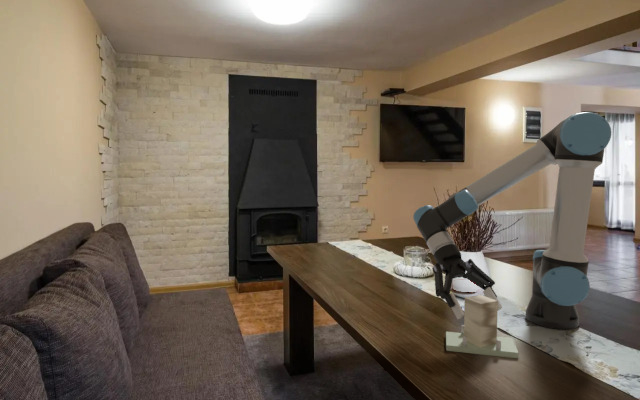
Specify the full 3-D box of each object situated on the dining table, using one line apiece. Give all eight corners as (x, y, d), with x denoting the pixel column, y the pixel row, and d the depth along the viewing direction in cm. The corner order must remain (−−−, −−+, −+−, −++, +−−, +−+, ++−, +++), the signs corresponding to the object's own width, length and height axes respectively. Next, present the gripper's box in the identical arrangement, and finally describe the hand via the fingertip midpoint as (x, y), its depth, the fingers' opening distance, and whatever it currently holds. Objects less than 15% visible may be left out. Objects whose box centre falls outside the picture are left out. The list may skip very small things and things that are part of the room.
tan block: (480, 335, 120) (480, 294, 119) (496, 343, 114) (497, 300, 113) (463, 339, 117) (464, 297, 116) (479, 347, 112) (480, 303, 111)
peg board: (512, 343, 118) (512, 329, 118) (518, 358, 108) (518, 343, 108) (445, 336, 123) (446, 323, 123) (446, 350, 114) (446, 336, 113)
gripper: (468, 253, 135) (505, 312, 122) (405, 260, 125) (437, 326, 112) (481, 239, 130) (521, 300, 117) (416, 246, 120) (451, 313, 107)
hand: (480, 313), depth 115 cm, fingers open, 13 cm apart
